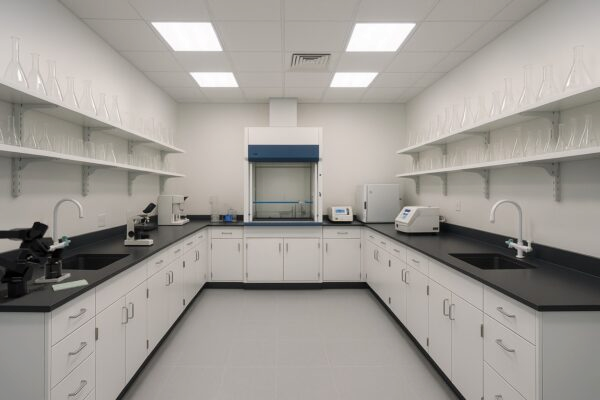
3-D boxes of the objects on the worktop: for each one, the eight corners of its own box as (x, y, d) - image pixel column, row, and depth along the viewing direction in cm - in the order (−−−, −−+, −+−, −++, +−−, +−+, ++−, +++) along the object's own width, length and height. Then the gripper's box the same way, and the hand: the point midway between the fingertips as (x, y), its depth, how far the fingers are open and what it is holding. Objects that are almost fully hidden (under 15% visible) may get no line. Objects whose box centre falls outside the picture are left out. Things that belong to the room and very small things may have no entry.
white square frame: (58, 281, 148) (58, 278, 148) (35, 283, 146) (35, 280, 146) (70, 276, 158) (70, 273, 158) (49, 277, 156) (49, 274, 156)
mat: (54, 291, 133) (54, 290, 133) (52, 286, 141) (52, 285, 140) (88, 284, 143) (88, 283, 143) (84, 280, 150) (84, 279, 150)
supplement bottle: (51, 281, 148) (51, 258, 147) (41, 281, 149) (40, 258, 149) (65, 277, 154) (64, 255, 154) (55, 277, 156) (54, 255, 155)
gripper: (63, 232, 146) (77, 249, 157) (21, 233, 142) (37, 250, 154) (53, 250, 138) (68, 267, 149) (8, 252, 135) (27, 269, 146)
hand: (50, 263), depth 150 cm, fingers open, 9 cm apart
